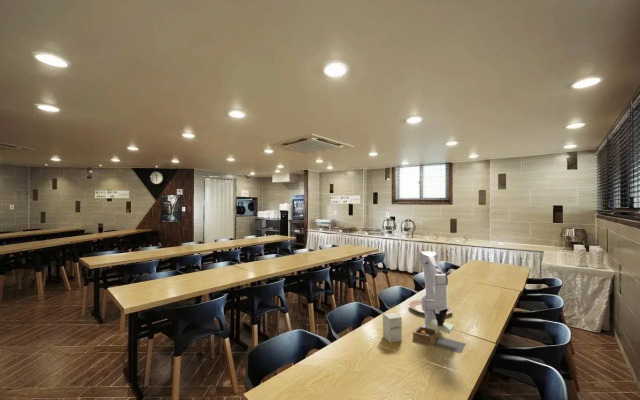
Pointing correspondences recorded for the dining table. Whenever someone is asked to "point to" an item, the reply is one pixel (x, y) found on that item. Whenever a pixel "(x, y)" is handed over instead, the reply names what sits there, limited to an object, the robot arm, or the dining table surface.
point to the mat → (450, 344)
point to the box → (425, 338)
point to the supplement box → (392, 327)
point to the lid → (440, 326)
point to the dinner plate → (418, 307)
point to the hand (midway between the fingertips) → (440, 323)
